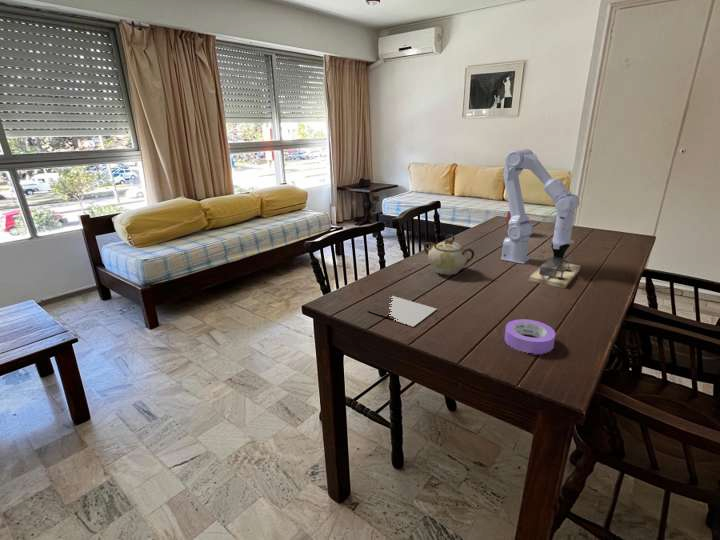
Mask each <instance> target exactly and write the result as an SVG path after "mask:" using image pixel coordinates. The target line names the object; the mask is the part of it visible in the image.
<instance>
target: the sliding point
mask: <svg viewBox="0 0 720 540" xmlns="http://www.w3.org/2000/svg"><path fill="white" fill-rule="evenodd" d="M547 260H548V264H547V265H550V266H556V267H559V268H562V267H563V266H564V263H568V269H570V264H573V260H568V259H566V258H565V257H563V258H561V257H555V256H554V255H550V256H548V258H547Z"/></svg>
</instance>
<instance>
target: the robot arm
mask: <svg viewBox="0 0 720 540" xmlns="http://www.w3.org/2000/svg"><path fill="white" fill-rule="evenodd" d="M504 161H505V162H504V163H505V164H504V169H503V173H502V176H503V181H504V187H505V193H506V197H507V198H506V199H507V203H508V208H509V211H510V214H511V219H510V221H509V223H508V222H507V225H509V228H508V231H507V232H508V233H507V235H508V237H505V238H504V240H503V242H502V250H501V258H500V260H503V261H507V262H512V263H518V264H523V265H524V264H526V263H527V262H528V261H529V260H530V259H531V258H530V257H528V250H529V244H530V238H531V237H530V236H532V235H533V233H534V225H533V223H532V222H531V219H530V217H529V216H528V215H527V214H526V210H525V206H524V204H525V203H524V198H523V195H522V189H521V184H520V177H519V176H520V174H521V173H522V172H523V171H524V170H529V171H531V172H532V174H533V175H535V176H536V178H538V179H539V181H540V182H541V183H542V185H544V186H543V190H544V191H545V193H546V194H547V195H548V196H549V197H550V199H551V200H552V201H553V202H554V203H555V205H554V206H555V209H556V210H557V213H556V218H555V219H556V220H555V224H554V231H553V238H552V241H551V242H552V244H551V250H552V253H553V256H555V257H561V258H565V256H566V255H565V254H566V252H567V251H568V249H569V248H570V247H571V244H574V242H575V241H574V240H573V239H571V237H572V232H573V226H574V219H575V214H576V209H577V208H578V207H579V205H580V199H579V197H578V195H576V194H573V193H572V192H571V191H572V190H568V189H567V188H566V186H565V185H564V182H563V180H562V179H561V180H560V179H558V178H553V177H552V176H551V175H550V174H551V173H549V172H548V170H547V169H546V168H545V166H544V165H543V164H542V162H541V161H540V160H539V158H538V156H537V155H536V154H535V153H534V152H533V151H532V150H531V149H530V148H524V149H513V150H510V151H509V153H508V154H506V156H505V158H504Z"/></svg>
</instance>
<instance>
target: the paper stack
mask: <svg viewBox="0 0 720 540" xmlns="http://www.w3.org/2000/svg"><path fill="white" fill-rule="evenodd" d="M391 296H392V297H391ZM391 296H390V297H391V298H393V299H391V300H393V301H392V302H391V303H389V304H392V305H390V306H392V307H389V309H391V310H390V311H392V312H390V313H389V314H391V315H389V316H393V317H394V318H396V319H394V320H393V321H395V320H396V321H395V322H398V323H401V324H403V325H406V324H407V326H409V327H412V328H414V327H415V326H416V325H418V324H419V323H421V322H422V321H423V320H425V319H426V318H427V317H429V316H430V315H431V314H432V313H434V312H435V311H436V310H437V307H436V308H435V307H432V306H428V305H426V304H422V303H418V302H414V301H412V300H408V299H405V298H402V297H397V296H395V295H391ZM397 319H398V320H397Z"/></svg>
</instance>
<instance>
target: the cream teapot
mask: <svg viewBox="0 0 720 540" xmlns="http://www.w3.org/2000/svg"><path fill="white" fill-rule="evenodd" d="M449 237H451V238H452V240H448V238H449ZM428 245H429V246H430V249H429V251H428V249H427V246H428ZM423 249H424V251H425V253H426V254H427V258H428V261H429V263H430V265H431V266H432V267H433V269H434V270H435V272H436V273H437V274H439V273H440V274H439V275H443V274H445V275H444V276H453V275H452V274H454V275H456V274H458V273H459V271H460V270H462V269H463V268H464V267H465V266H467V265H468V264H469V262H470V261H472V260H473V259H474V257H475V251H474V250H473V249H472V248H470V247H467V248H464V246H463V245H462V244H459V243H457V242H455V236H454V235H453V234H452V233H449V234H447V235H446V236H445V237H444V241H442V242H441V241H440V242H437V243H433V242H431V241H430V242H429V241H427V242H425V243H424V244H423ZM468 252H470V253H471V255H470V257H469V253H468Z"/></svg>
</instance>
